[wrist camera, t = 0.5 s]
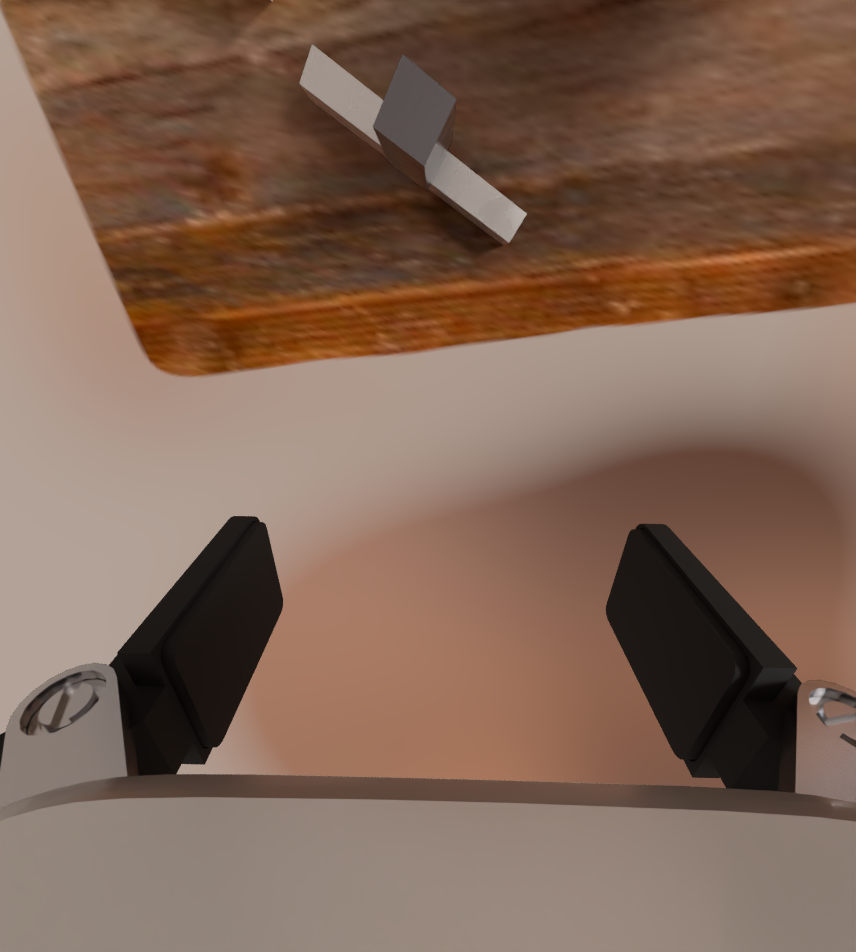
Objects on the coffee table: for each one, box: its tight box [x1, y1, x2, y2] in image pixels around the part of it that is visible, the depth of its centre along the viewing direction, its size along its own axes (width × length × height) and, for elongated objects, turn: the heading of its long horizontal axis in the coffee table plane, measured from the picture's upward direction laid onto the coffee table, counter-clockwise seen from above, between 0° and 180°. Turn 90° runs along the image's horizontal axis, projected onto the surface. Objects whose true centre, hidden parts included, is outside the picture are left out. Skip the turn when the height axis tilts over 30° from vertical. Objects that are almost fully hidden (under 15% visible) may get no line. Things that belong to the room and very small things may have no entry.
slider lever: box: [299, 44, 527, 245], centre depth 23 cm, size 3×16×10 cm, turn 59°
